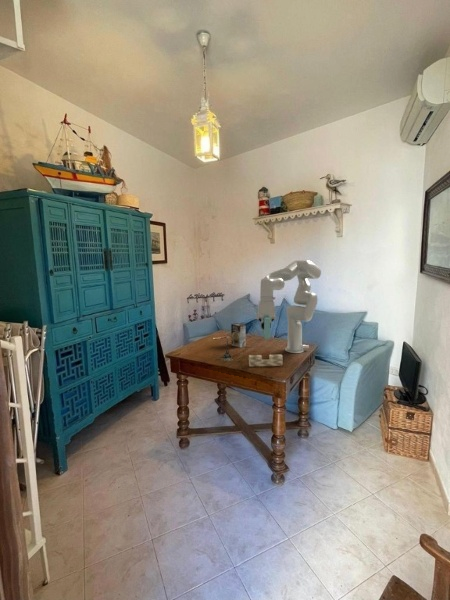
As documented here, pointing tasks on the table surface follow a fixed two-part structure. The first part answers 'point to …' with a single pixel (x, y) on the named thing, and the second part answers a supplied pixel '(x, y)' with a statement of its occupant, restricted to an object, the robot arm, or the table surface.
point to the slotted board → (272, 361)
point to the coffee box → (238, 335)
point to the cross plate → (266, 328)
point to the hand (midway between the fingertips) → (266, 328)
